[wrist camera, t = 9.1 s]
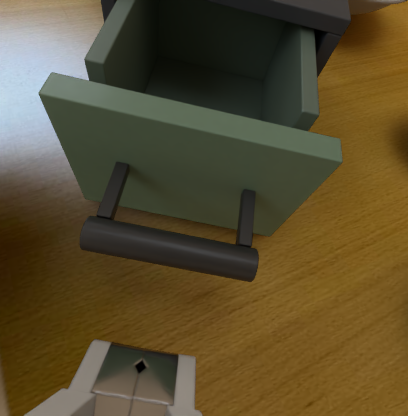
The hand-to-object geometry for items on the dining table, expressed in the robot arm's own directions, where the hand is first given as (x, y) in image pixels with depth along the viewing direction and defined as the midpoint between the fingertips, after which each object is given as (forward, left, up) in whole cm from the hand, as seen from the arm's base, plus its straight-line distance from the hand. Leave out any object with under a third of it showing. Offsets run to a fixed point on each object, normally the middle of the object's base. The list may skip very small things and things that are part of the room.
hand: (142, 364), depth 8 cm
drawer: (0, +12, -6) cm, 14 cm away
